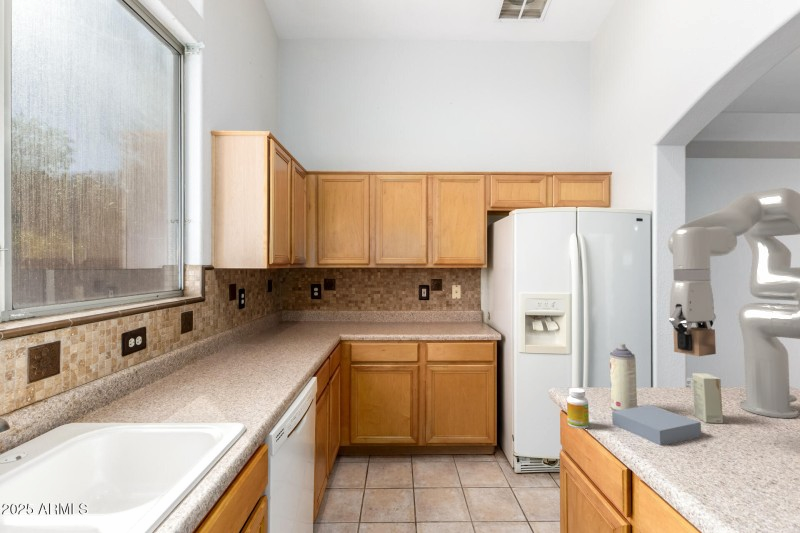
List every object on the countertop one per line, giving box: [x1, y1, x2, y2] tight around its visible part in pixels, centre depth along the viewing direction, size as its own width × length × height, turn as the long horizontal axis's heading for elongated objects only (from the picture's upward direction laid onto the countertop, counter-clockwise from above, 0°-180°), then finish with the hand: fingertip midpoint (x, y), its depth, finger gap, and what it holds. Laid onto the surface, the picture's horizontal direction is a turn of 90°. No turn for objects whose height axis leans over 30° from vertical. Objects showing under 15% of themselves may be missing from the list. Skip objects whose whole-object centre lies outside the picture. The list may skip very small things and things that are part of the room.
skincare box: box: [691, 372, 724, 424], centre depth 110 cm, size 6×4×12 cm
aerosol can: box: [609, 343, 638, 411], centre depth 119 cm, size 7×7×20 cm
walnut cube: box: [672, 326, 717, 357], centre depth 98 cm, size 6×6×6 cm
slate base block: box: [611, 404, 702, 446], centre depth 104 cm, size 14×14×4 cm
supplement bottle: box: [566, 387, 590, 430], centre depth 108 cm, size 5×5×10 cm
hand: (694, 348), depth 98 cm, fingers closed on walnut cube, 6 cm apart
